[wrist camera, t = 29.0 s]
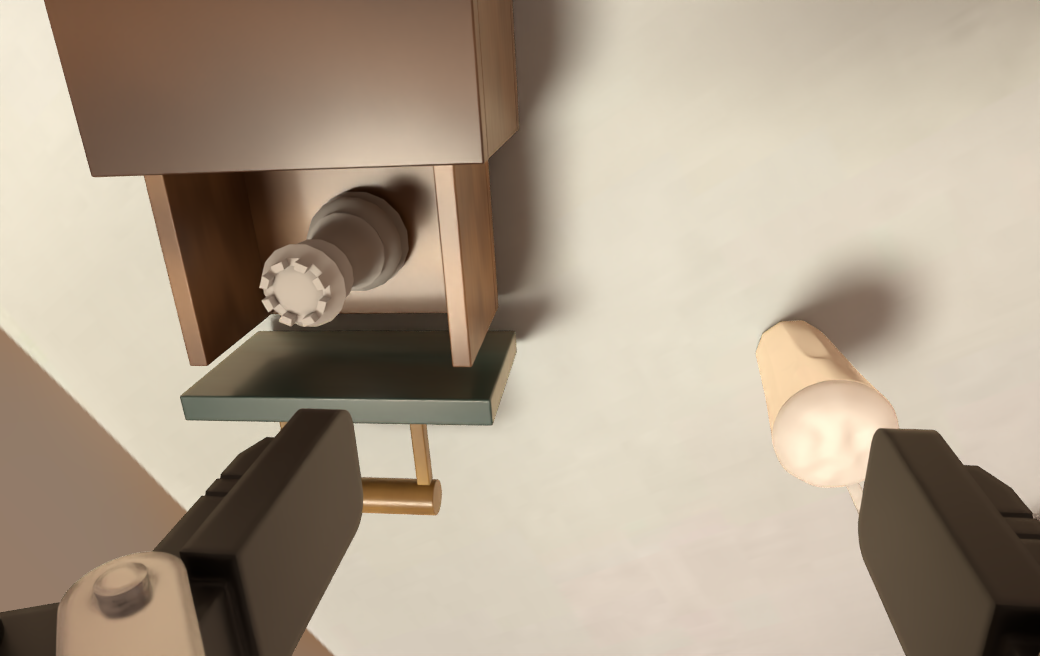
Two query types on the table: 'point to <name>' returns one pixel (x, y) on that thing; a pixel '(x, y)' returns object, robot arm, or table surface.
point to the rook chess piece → (335, 259)
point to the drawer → (342, 354)
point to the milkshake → (819, 407)
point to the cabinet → (287, 83)
